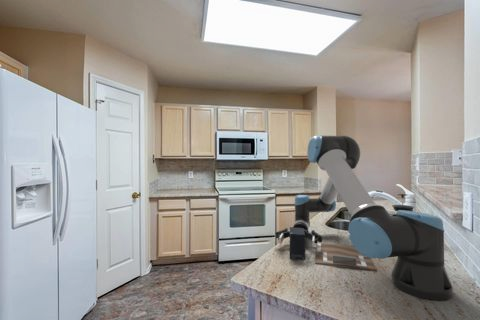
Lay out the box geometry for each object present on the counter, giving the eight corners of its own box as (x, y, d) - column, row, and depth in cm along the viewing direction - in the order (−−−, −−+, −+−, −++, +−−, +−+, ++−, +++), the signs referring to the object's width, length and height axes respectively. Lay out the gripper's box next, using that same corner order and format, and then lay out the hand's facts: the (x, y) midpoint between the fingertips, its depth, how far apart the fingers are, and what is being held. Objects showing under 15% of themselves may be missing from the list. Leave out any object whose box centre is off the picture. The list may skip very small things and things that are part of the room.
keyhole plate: (376, 271, 85) (376, 261, 85) (315, 263, 92) (315, 254, 92) (365, 248, 107) (364, 240, 107) (316, 243, 114) (316, 236, 114)
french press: (388, 239, 119) (387, 194, 119) (393, 235, 125) (392, 192, 126) (417, 245, 110) (416, 196, 111) (421, 240, 117) (420, 194, 117)
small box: (306, 260, 95) (305, 234, 95) (289, 259, 96) (289, 233, 96) (304, 251, 105) (304, 227, 105) (289, 250, 107) (289, 226, 107)
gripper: (327, 238, 115) (328, 254, 95) (276, 234, 123) (267, 248, 103) (326, 223, 115) (327, 236, 95) (276, 219, 123) (266, 231, 103)
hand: (296, 242), depth 99 cm, fingers open, 13 cm apart
